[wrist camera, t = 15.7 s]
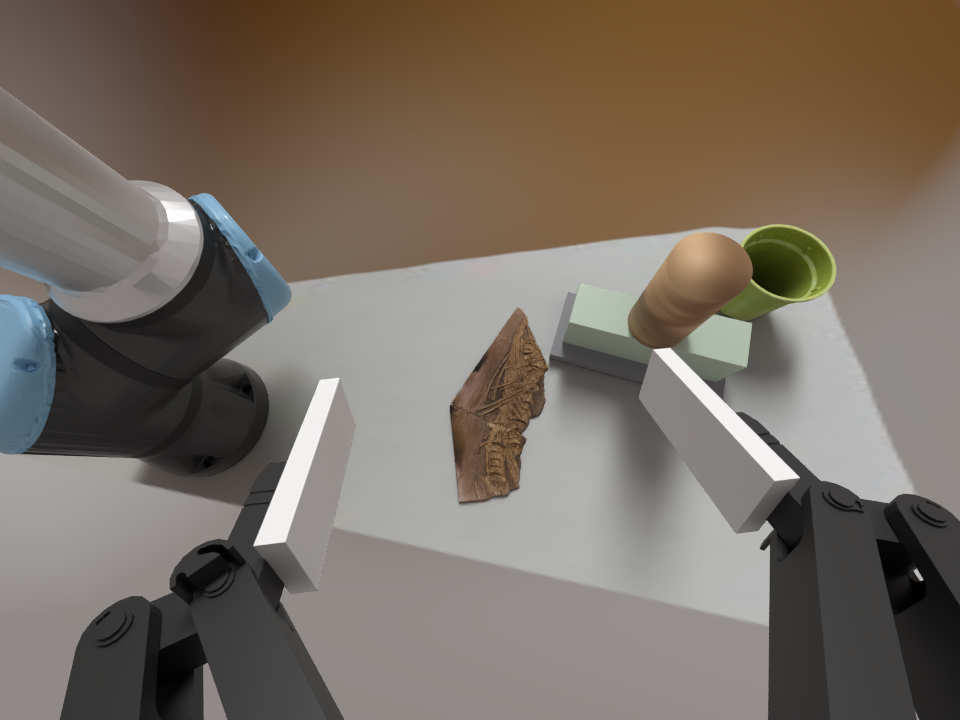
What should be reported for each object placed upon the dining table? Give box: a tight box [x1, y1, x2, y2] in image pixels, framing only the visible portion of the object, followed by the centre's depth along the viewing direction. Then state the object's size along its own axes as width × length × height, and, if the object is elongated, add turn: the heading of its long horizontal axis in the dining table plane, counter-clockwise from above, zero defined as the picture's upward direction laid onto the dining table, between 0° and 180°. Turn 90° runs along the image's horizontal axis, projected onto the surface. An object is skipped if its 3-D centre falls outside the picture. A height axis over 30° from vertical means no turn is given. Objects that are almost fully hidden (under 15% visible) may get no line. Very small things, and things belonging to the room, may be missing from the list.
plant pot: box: [720, 225, 836, 321], centre depth 42 cm, size 9×9×9 cm
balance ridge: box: [549, 283, 752, 399], centre depth 42 cm, size 20×9×8 cm, turn 72°
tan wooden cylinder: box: [628, 233, 753, 349], centre depth 33 cm, size 6×6×11 cm
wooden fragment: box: [450, 307, 548, 503], centre depth 44 cm, size 26×11×1 cm, turn 161°
